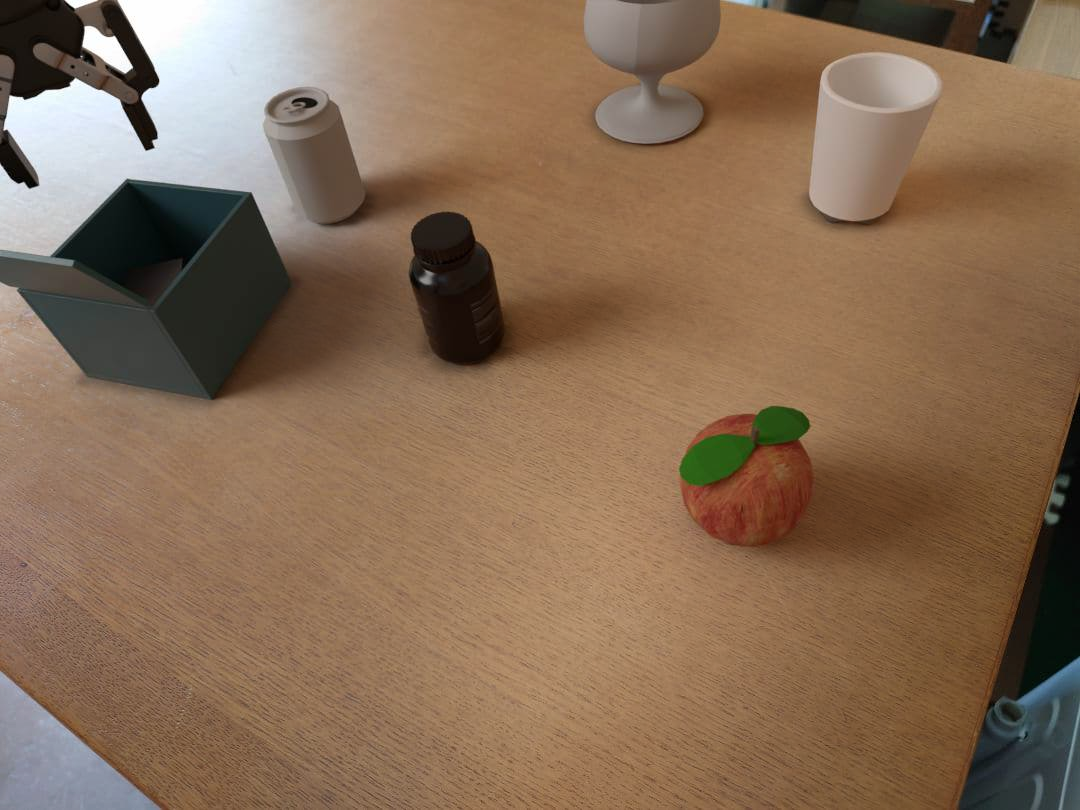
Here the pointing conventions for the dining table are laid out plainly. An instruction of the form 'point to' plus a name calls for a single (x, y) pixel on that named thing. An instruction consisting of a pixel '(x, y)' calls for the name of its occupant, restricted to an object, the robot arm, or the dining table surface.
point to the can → (313, 154)
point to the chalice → (650, 62)
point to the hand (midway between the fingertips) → (92, 163)
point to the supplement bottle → (455, 289)
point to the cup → (868, 132)
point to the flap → (62, 278)
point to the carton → (188, 303)
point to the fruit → (749, 476)
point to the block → (153, 279)
